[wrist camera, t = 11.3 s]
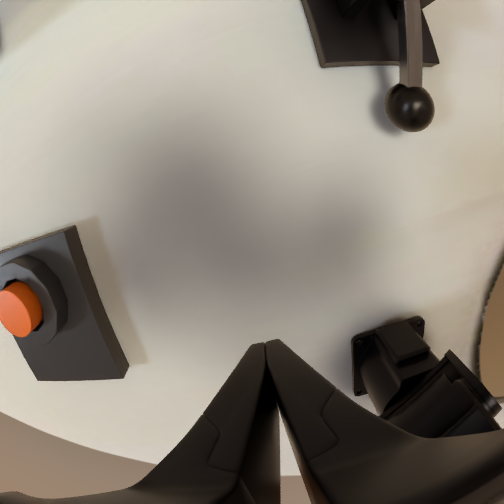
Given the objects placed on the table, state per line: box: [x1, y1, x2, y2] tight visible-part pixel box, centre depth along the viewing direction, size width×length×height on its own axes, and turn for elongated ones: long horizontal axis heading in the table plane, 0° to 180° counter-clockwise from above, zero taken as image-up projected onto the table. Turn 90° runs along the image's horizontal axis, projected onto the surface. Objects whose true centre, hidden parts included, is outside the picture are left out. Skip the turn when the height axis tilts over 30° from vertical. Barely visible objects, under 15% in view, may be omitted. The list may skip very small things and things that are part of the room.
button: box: [0, 281, 43, 337], centre depth 17 cm, size 4×4×2 cm
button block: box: [0, 226, 129, 381], centre depth 19 cm, size 12×10×4 cm
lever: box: [385, 0, 435, 132], centre depth 12 cm, size 13×3×3 cm, turn 12°
